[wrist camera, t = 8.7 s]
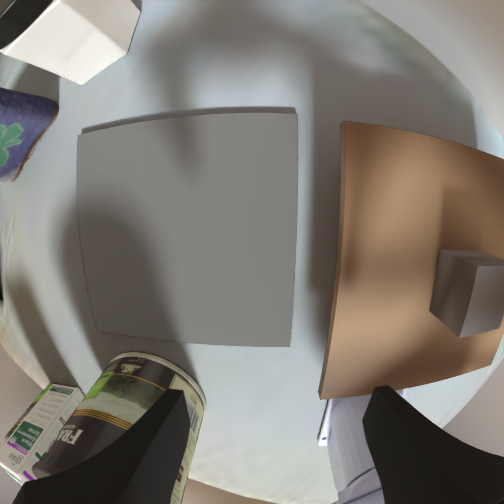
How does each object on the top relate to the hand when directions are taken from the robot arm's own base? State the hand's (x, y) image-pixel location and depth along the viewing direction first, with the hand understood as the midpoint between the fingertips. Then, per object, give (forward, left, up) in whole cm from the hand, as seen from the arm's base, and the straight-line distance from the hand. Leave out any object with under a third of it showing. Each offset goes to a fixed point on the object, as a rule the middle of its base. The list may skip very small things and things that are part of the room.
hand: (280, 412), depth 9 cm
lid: (+3, -10, -5) cm, 12 cm away
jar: (+22, +15, -11) cm, 28 cm away
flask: (+14, +22, -11) cm, 28 cm away
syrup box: (-15, +23, -11) cm, 29 cm away
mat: (+5, +7, -10) cm, 13 cm away
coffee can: (-10, +11, -11) cm, 18 cm away
